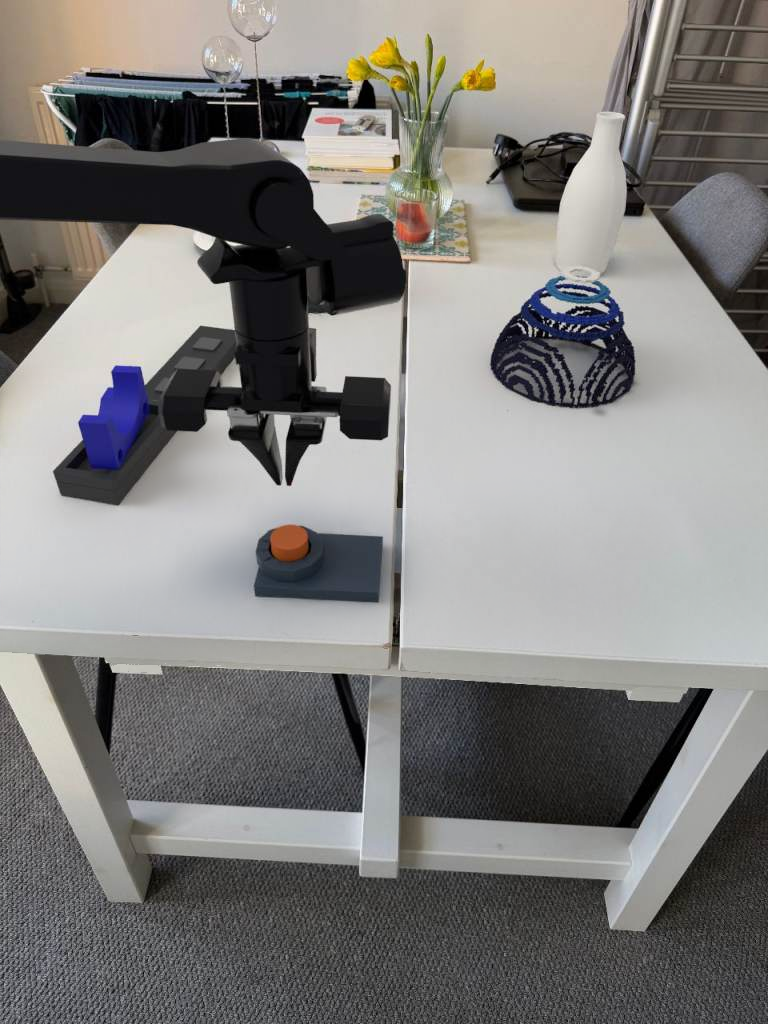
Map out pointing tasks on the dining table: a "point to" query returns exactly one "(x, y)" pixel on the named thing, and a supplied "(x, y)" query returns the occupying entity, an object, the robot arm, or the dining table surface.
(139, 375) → the cable clip
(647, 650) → the dining table surface
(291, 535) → the power button
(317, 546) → the switch block
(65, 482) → the power strip
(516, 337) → the decorative bowl
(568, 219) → the bottle
